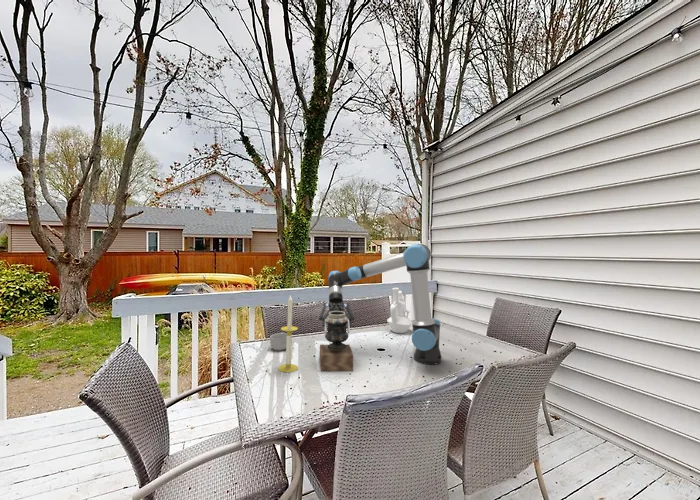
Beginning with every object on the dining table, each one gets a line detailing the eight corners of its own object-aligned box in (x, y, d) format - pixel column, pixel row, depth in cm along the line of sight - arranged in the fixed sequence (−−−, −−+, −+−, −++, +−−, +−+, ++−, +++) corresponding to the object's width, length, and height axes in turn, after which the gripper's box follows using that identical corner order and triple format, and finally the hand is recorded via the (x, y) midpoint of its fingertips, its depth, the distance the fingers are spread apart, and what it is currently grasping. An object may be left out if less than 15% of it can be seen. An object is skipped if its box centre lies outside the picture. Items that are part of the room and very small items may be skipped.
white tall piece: (416, 332, 245) (419, 287, 244) (398, 338, 230) (400, 290, 228) (396, 326, 258) (398, 284, 256) (377, 332, 242) (379, 286, 241)
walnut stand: (348, 358, 189) (349, 344, 189) (352, 370, 173) (353, 355, 173) (319, 359, 187) (319, 344, 187) (320, 371, 171) (321, 355, 171)
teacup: (284, 353, 194) (284, 339, 194) (266, 351, 196) (266, 337, 196) (293, 345, 208) (293, 332, 207) (276, 343, 210) (276, 330, 209)
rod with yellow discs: (289, 374, 166) (291, 296, 164) (273, 369, 171) (275, 294, 169) (302, 367, 175) (304, 294, 173) (287, 363, 180) (289, 291, 178)
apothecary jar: (353, 346, 180) (353, 312, 178) (337, 352, 171) (337, 316, 169) (336, 341, 188) (336, 308, 186) (320, 347, 179) (320, 312, 177)
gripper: (355, 300, 195) (359, 335, 181) (313, 299, 192) (313, 335, 178) (357, 292, 190) (361, 328, 175) (314, 291, 187) (314, 328, 172)
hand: (337, 332), depth 176 cm, fingers closed on apothecary jar, 11 cm apart
